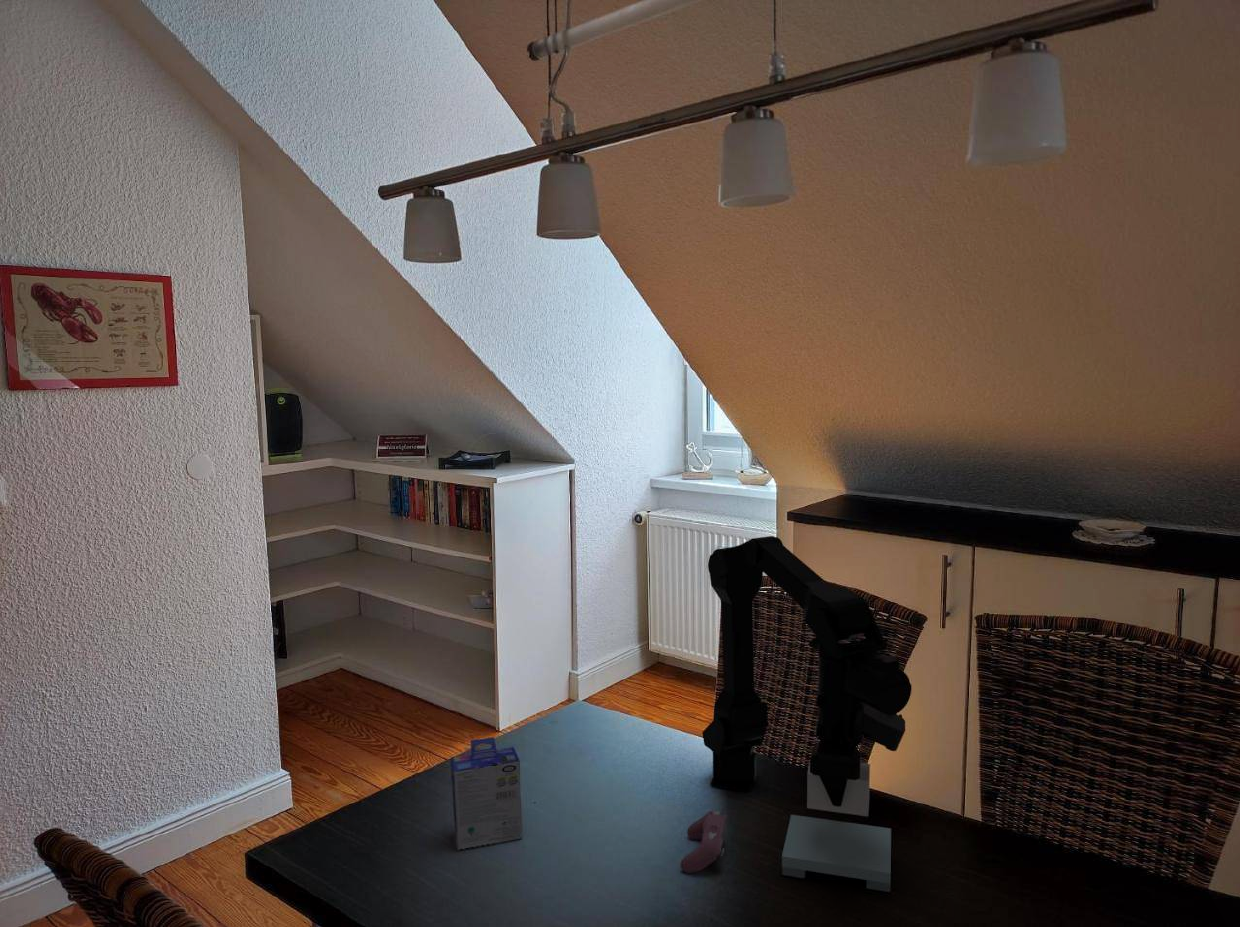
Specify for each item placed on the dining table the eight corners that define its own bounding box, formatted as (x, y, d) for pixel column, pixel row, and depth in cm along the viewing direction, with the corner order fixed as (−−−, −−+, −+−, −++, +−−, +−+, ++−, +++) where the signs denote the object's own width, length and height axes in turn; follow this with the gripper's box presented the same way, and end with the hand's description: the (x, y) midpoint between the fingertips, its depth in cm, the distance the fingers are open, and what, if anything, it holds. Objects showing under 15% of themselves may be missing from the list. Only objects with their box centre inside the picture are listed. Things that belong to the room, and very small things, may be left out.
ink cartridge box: (517, 820, 133) (514, 730, 131) (524, 839, 128) (521, 745, 126) (452, 832, 130) (448, 740, 128) (457, 852, 125) (452, 756, 123)
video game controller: (707, 887, 118) (730, 846, 116) (677, 870, 118) (699, 829, 117) (713, 847, 127) (734, 808, 126) (685, 831, 128) (706, 793, 126)
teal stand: (781, 876, 117) (781, 856, 117) (791, 833, 128) (791, 814, 127) (890, 894, 113) (890, 872, 113) (890, 848, 123) (891, 828, 123)
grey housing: (868, 816, 116) (868, 775, 115) (807, 808, 118) (807, 767, 117) (869, 798, 120) (870, 758, 120) (810, 790, 123) (810, 751, 122)
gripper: (902, 722, 106) (900, 841, 108) (901, 668, 123) (899, 771, 125) (810, 712, 109) (808, 828, 111) (822, 661, 127) (820, 762, 129)
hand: (838, 795), depth 119 cm, fingers closed on grey housing, 5 cm apart
